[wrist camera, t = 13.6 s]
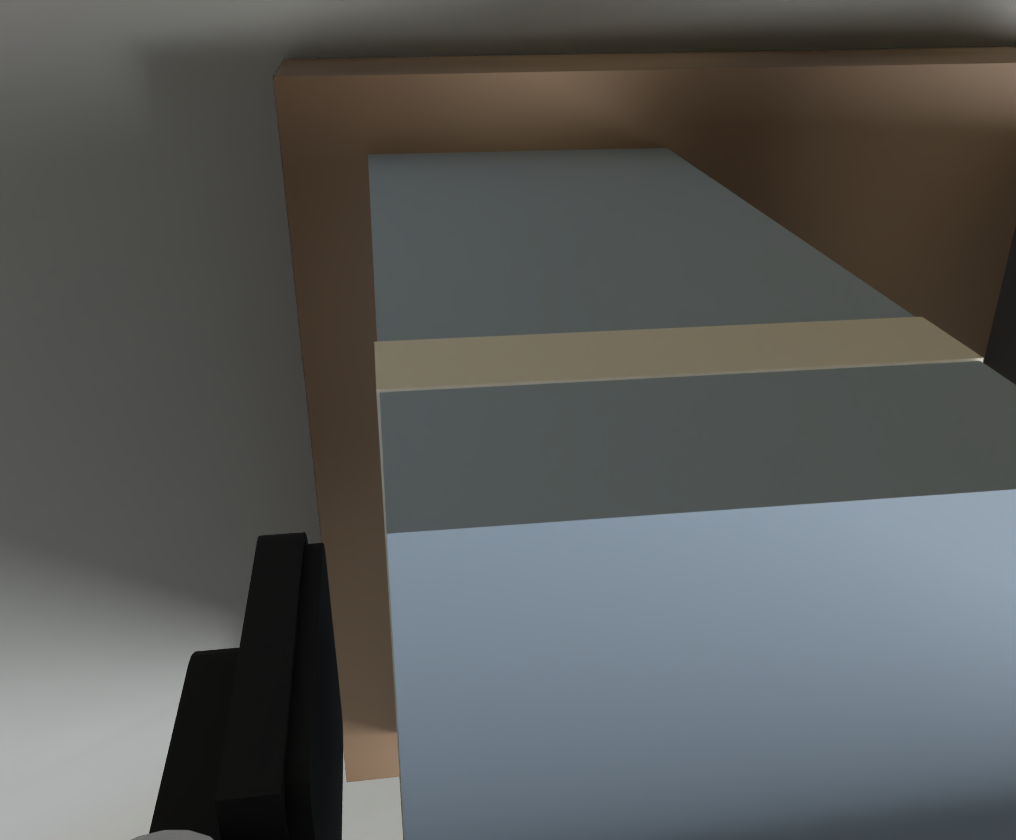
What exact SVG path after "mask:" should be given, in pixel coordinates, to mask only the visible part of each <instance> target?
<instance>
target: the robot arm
mask: <svg viewBox="0 0 1016 840" xmlns="http://www.w3.org/2000/svg"><path fill="white" fill-rule="evenodd" d="M342 788H343V719H342V707H341V698H340V688H339V678H338V669H337V659H336V649H335V640H334V630H333V620H332V610H331V601H330V591H329V581H328V572H327V562H326V553H325V546H324V543H316V544H308V541H307V536H306V533H305V532H303V533H289V534H276V535H263V536H259V537H258V540H257V545H256V551H255V558H254V564H253V570H252V576H251V582H250V588H249V594H248V600H247V606H246V612H245V618H244V624H243V630H242V636H241V642H240V648H230V649H219V650H208V651H196V652H194V653H193V654H192V656H191V658H190V661H189V664H188V668H187V673H186V677H185V681H184V686H183V690H182V694H181V698H180V703H179V707H178V711H177V716H176V720H175V724H174V729H173V733H172V737H171V741H170V746H169V750H168V754H167V759H166V763H165V767H164V772H163V776H162V780H161V784H160V789H159V793H158V797H157V802H156V806H155V810H154V815H153V819H152V823H151V827H150V832H149V834H146V835H142V836H138V837H136V838H134V839H132V840H342Z"/></svg>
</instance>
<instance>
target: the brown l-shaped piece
mask: <svg viewBox="0 0 1016 840" xmlns="http://www.w3.org/2000/svg"><path fill="white" fill-rule="evenodd" d="M273 81H274V91H275V100H276V110H277V119H278V129H279V139H280V148H281V158H282V167H283V177H284V186H285V196H286V206H287V215H288V225H289V234H290V244H291V253H292V263H293V272H294V282H295V292H296V301H297V311H298V320H299V330H300V339H301V349H302V358H303V368H304V378H305V387H306V397H307V406H308V416H309V425H310V435H311V445H312V454H313V464H314V473H315V483H316V492H317V502H318V511H319V521H320V531H321V540H322V543H324V546H325V553H326V562H327V572H328V581H329V591H330V601H331V610H332V620H333V630H334V640H335V649H336V659H337V669H338V678H339V688H340V698H341V707H342V719H343V750H344V760H345V770H346V779H347V782H353V781H363V780H372V779H381V778H390V777H400V776H399V759H398V743H397V726H396V710H395V693H394V676H393V660H392V643H391V627H390V610H389V593H388V577H387V560H386V543H385V527H384V510H383V494H382V477H381V460H380V444H379V427H378V411H377V394H376V372H375V348H374V342H376V341H377V328H376V308H375V288H374V268H373V248H372V227H371V207H370V187H369V167H368V154H410V153H457V152H504V151H551V150H597V149H644V148H668V149H669V150H671V151H672V152H674V153H675V154H677V155H678V156H679V157H681V158H682V159H684V160H685V161H687V162H688V163H690V164H691V165H693V166H694V167H696V168H697V169H699V170H700V171H702V172H703V173H705V174H706V175H707V176H709V177H710V178H712V179H713V180H715V181H716V182H718V183H719V184H721V185H722V186H724V187H725V188H727V189H728V190H730V191H731V192H732V193H734V194H735V195H737V196H738V197H740V198H741V199H743V200H744V201H746V202H747V203H749V204H750V205H752V206H753V207H755V208H756V209H757V210H759V211H760V212H762V213H763V214H765V215H766V216H768V217H769V218H771V219H772V220H774V221H775V222H777V223H778V224H780V225H781V226H783V227H784V228H785V229H787V230H788V231H790V232H791V233H793V234H794V235H796V236H797V237H799V238H800V239H802V240H803V241H805V242H806V243H808V244H809V245H810V246H812V247H813V248H815V249H816V250H818V251H819V252H821V253H822V254H824V255H825V256H827V257H828V258H830V259H831V260H833V261H834V262H836V263H837V264H838V265H840V266H841V267H843V268H844V269H846V270H847V271H849V272H850V273H852V274H853V275H855V276H856V277H858V278H859V279H861V280H862V281H863V282H865V283H866V284H868V285H869V286H871V287H872V288H874V289H875V290H877V291H878V292H880V293H881V294H883V295H884V296H886V297H887V298H888V299H890V300H891V301H893V302H894V303H896V304H897V305H899V306H900V307H902V308H903V309H905V310H906V311H908V312H909V313H911V314H912V315H914V316H915V317H923V318H925V319H926V320H928V321H929V322H931V323H932V324H934V325H935V326H937V327H938V328H940V329H941V330H943V331H944V332H946V333H947V334H949V335H950V336H952V337H953V338H955V339H956V340H958V341H959V342H961V343H962V344H964V345H965V346H967V347H968V348H970V349H971V350H973V351H974V352H976V353H977V354H979V355H980V356H982V357H983V358H984V359H983V363H984V364H986V365H987V366H989V367H990V368H992V369H993V370H994V371H996V372H997V373H999V374H1000V375H1002V376H1003V377H1005V378H1006V379H1008V380H1009V381H1011V382H1012V383H1014V384H1015V385H1016V47H967V48H908V49H849V50H790V51H731V52H672V53H613V54H554V55H495V56H436V57H376V58H317V59H284V60H283V61H282V63H281V65H280V66H279V68H278V70H277V71H276V73H275V75H274V76H273Z"/></svg>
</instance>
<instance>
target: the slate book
mask: <svg viewBox="0 0 1016 840" xmlns="http://www.w3.org/2000/svg"><path fill="white" fill-rule="evenodd" d="M368 167H369V187H370V207H371V227H372V248H373V268H374V288H375V308H376V328H377V341H376V342H374V348H375V372H376V394H377V411H378V427H379V444H380V460H381V477H382V494H383V510H384V527H385V543H386V560H387V577H388V593H389V610H390V627H391V643H392V660H393V676H394V693H395V710H396V726H397V743H398V759H399V776H400V793H401V809H402V826H403V840H1016V385H1015V384H1014V383H1012V382H1011V381H1009V380H1008V379H1006V378H1005V377H1003V376H1002V375H1000V374H999V373H997V372H996V371H994V370H993V369H992V368H990V367H989V366H987V365H986V364H984V363H983V359H984V358H983V357H982V356H980V355H979V354H977V353H976V352H974V351H973V350H971V349H970V348H968V347H967V346H965V345H964V344H962V343H961V342H959V341H958V340H956V339H955V338H953V337H952V336H950V335H949V334H947V333H946V332H944V331H943V330H941V329H940V328H938V327H937V326H935V325H934V324H932V323H931V322H929V321H928V320H926V319H925V318H923V317H915V316H914V315H912V314H911V313H909V312H908V311H906V310H905V309H903V308H902V307H900V306H899V305H897V304H896V303H894V302H893V301H891V300H890V299H888V298H887V297H886V296H884V295H883V294H881V293H880V292H878V291H877V290H875V289H874V288H872V287H871V286H869V285H868V284H866V283H865V282H863V281H862V280H861V279H859V278H858V277H856V276H855V275H853V274H852V273H850V272H849V271H847V270H846V269H844V268H843V267H841V266H840V265H838V264H837V263H836V262H834V261H833V260H831V259H830V258H828V257H827V256H825V255H824V254H822V253H821V252H819V251H818V250H816V249H815V248H813V247H812V246H810V245H809V244H808V243H806V242H805V241H803V240H802V239H800V238H799V237H797V236H796V235H794V234H793V233H791V232H790V231H788V230H787V229H785V228H784V227H783V226H781V225H780V224H778V223H777V222H775V221H774V220H772V219H771V218H769V217H768V216H766V215H765V214H763V213H762V212H760V211H759V210H757V209H756V208H755V207H753V206H752V205H750V204H749V203H747V202H746V201H744V200H743V199H741V198H740V197H738V196H737V195H735V194H734V193H732V192H731V191H730V190H728V189H727V188H725V187H724V186H722V185H721V184H719V183H718V182H716V181H715V180H713V179H712V178H710V177H709V176H707V175H706V174H705V173H703V172H702V171H700V170H699V169H697V168H696V167H694V166H693V165H691V164H690V163H688V162H687V161H685V160H684V159H682V158H681V157H679V156H678V155H677V154H675V153H674V152H672V151H671V150H669V149H668V148H644V149H597V150H551V151H504V152H457V153H410V154H368Z"/></svg>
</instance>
